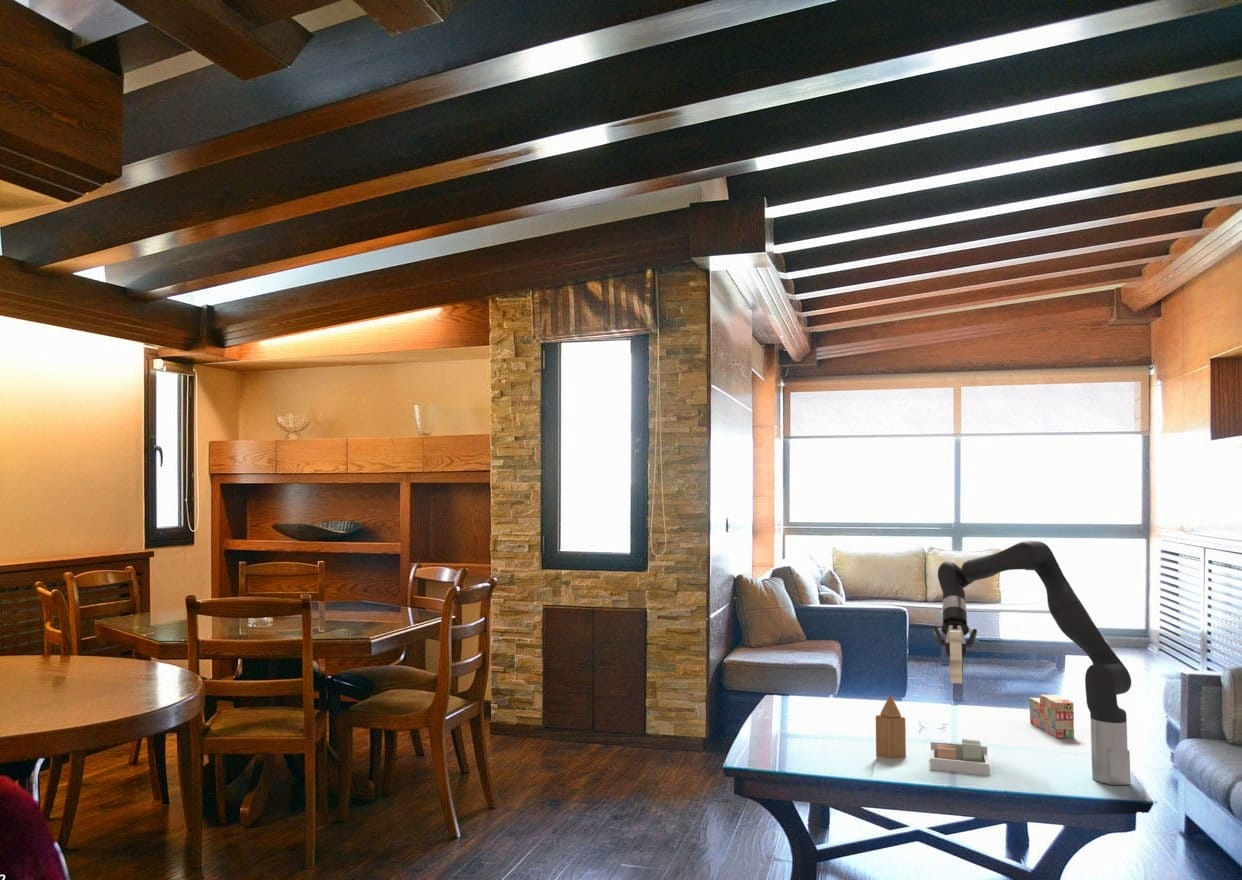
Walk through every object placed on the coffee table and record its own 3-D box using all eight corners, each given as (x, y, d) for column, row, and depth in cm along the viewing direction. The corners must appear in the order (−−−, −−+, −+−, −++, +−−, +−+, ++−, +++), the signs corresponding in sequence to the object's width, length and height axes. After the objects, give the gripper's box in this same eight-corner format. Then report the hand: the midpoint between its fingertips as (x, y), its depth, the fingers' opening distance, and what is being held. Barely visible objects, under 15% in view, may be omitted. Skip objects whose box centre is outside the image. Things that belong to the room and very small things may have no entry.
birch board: (962, 683, 281) (961, 632, 283) (950, 682, 283) (949, 631, 284) (961, 679, 288) (960, 629, 289) (950, 678, 289) (949, 628, 290)
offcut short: (955, 767, 263) (955, 749, 263) (937, 765, 265) (937, 748, 265) (955, 762, 268) (955, 745, 268) (937, 761, 269) (937, 744, 270)
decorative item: (906, 761, 274) (905, 695, 276) (890, 763, 271) (889, 696, 273) (891, 755, 280) (890, 691, 282) (875, 758, 277) (874, 692, 279)
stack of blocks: (1029, 723, 325) (1028, 689, 326) (1047, 723, 325) (1046, 689, 325) (1056, 738, 303) (1055, 701, 304) (1074, 738, 303) (1073, 701, 304)
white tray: (989, 780, 256) (989, 757, 256) (930, 774, 261) (930, 751, 261) (985, 758, 278) (985, 736, 279) (931, 753, 283) (930, 732, 284)
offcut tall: (981, 770, 260) (980, 745, 261) (963, 768, 262) (962, 744, 262) (980, 764, 266) (980, 740, 266) (962, 763, 267) (962, 739, 268)
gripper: (931, 604, 296) (932, 647, 284) (977, 606, 292) (980, 649, 279) (932, 618, 301) (932, 661, 289) (977, 621, 296) (979, 664, 284)
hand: (955, 655), depth 284 cm, fingers closed on birch board, 3 cm apart
